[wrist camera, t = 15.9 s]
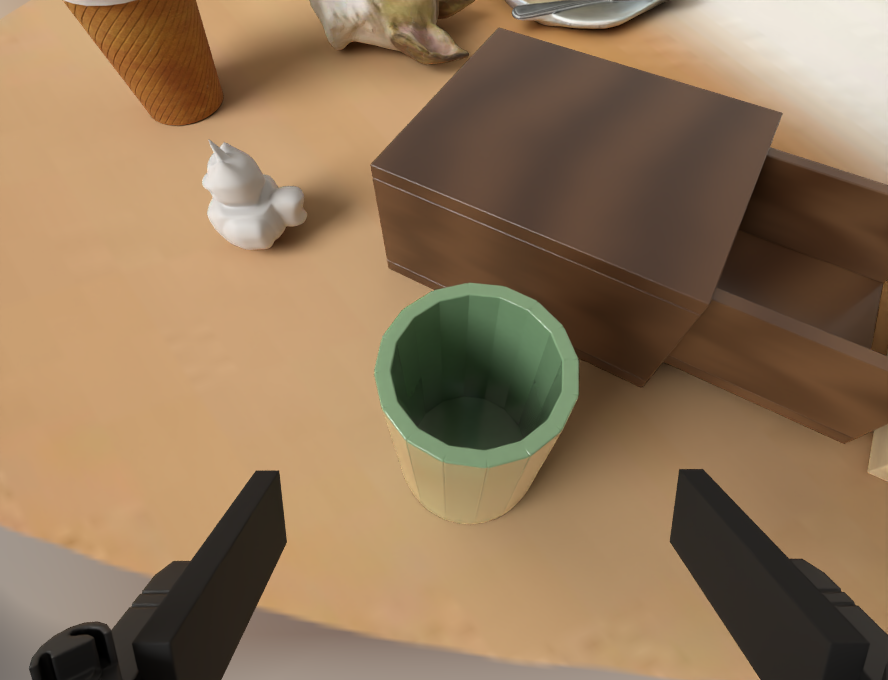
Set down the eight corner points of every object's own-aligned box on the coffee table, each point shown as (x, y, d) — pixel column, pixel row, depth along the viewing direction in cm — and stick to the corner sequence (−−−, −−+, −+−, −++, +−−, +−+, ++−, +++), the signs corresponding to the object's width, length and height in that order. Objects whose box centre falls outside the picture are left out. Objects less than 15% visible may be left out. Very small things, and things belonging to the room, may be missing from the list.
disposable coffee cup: (253, 69, 45) (193, -97, 35) (227, 140, 40) (148, -29, 30) (150, 68, 45) (60, -97, 35) (112, 138, 41) (-5, -30, 30)
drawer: (1030, 334, 29) (1179, 261, 23) (1029, 548, 24) (1227, 523, 18) (658, 198, 35) (701, 111, 29) (585, 343, 29) (620, 272, 23)
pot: (554, 432, 28) (609, 332, 18) (496, 552, 25) (524, 509, 15) (444, 374, 30) (440, 256, 20) (376, 479, 27) (334, 399, 17)
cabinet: (711, 222, 35) (783, 112, 28) (641, 388, 29) (710, 304, 21) (489, 140, 40) (498, 26, 32) (388, 268, 34) (369, 164, 26)
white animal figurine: (228, 207, 37) (176, 110, 30) (318, 203, 37) (287, 105, 30) (216, 265, 34) (155, 174, 27) (312, 261, 34) (277, 168, 27)
